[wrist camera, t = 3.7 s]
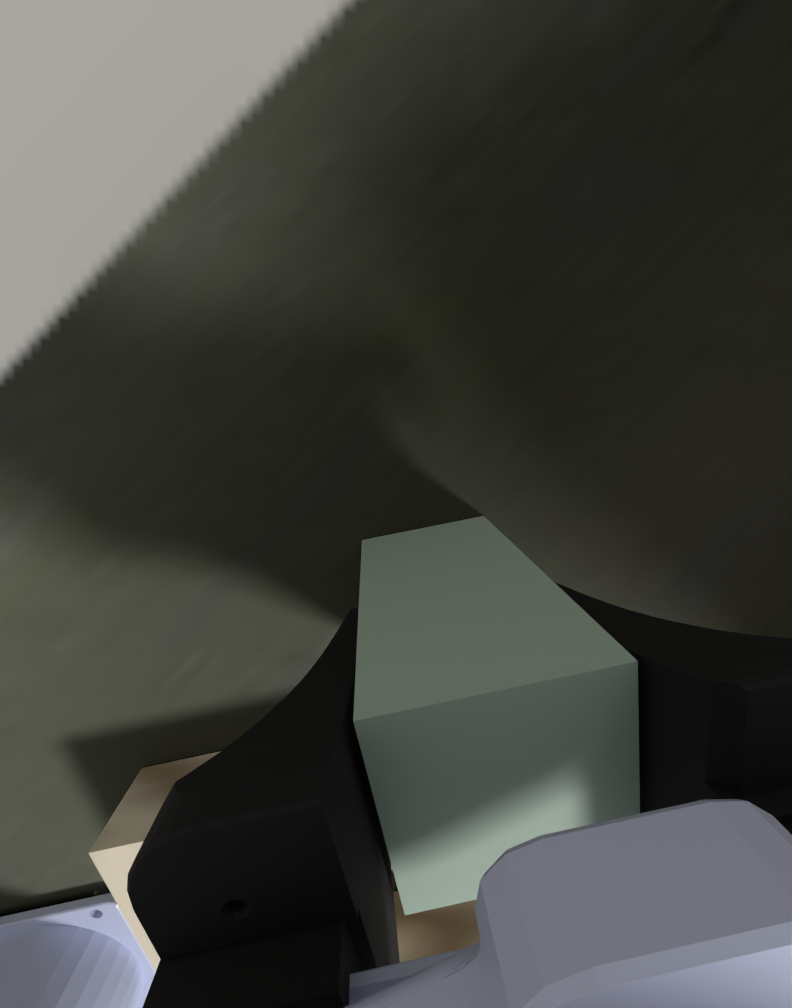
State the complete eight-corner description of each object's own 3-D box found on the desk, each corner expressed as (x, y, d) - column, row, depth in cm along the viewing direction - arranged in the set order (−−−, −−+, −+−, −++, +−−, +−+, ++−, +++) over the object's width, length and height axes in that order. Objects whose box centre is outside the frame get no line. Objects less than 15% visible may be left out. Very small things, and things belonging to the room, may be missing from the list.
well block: (241, 978, 19) (218, 1082, 16) (141, 767, 15) (88, 853, 12) (623, 892, 19) (668, 978, 16) (616, 667, 16) (672, 726, 13)
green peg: (385, 646, 15) (404, 915, 7) (361, 540, 13) (352, 721, 6) (497, 623, 15) (640, 862, 7) (483, 515, 14) (637, 661, 6)
